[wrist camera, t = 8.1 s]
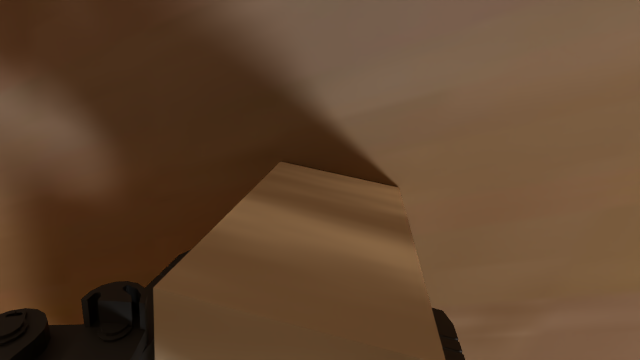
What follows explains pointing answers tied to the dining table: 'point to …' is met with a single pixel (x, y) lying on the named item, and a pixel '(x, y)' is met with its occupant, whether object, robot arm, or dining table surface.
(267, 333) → the light wood rectangular block
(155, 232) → the dining table surface
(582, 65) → the dining table surface
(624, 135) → the dining table surface
